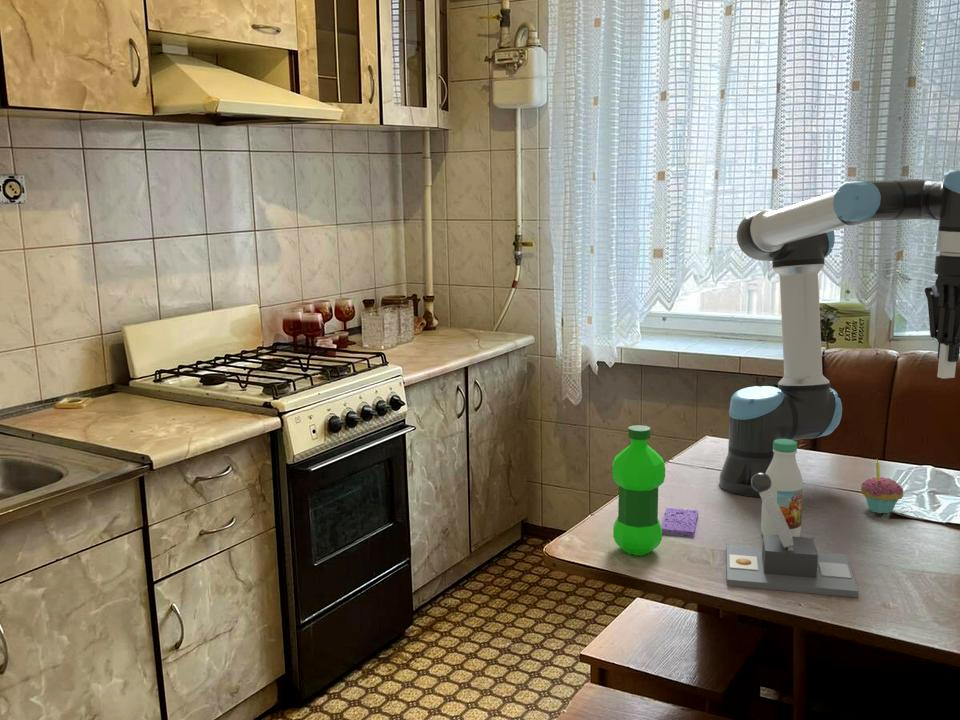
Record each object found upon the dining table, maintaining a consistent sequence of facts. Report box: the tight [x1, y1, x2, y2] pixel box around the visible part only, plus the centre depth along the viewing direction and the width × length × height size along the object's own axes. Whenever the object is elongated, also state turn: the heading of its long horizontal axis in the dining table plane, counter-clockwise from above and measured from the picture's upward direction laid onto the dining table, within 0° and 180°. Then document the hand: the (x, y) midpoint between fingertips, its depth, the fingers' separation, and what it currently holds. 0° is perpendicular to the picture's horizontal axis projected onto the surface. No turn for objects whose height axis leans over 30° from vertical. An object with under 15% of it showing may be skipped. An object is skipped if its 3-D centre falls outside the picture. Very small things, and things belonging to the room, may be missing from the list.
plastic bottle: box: [611, 424, 666, 556], centre depth 177 cm, size 10×10×25 cm
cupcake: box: [860, 458, 904, 514], centre depth 198 cm, size 9×8×12 cm
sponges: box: [660, 507, 699, 538], centre depth 193 cm, size 7×13×2 cm, turn 163°
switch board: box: [725, 534, 859, 599], centre depth 168 cm, size 22×16×6 cm
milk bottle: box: [760, 439, 804, 537], centre depth 184 cm, size 8×8×20 cm
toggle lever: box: [751, 473, 794, 548], centre depth 167 cm, size 4×6×14 cm, turn 165°
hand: (945, 377), depth 174 cm, fingers closed
